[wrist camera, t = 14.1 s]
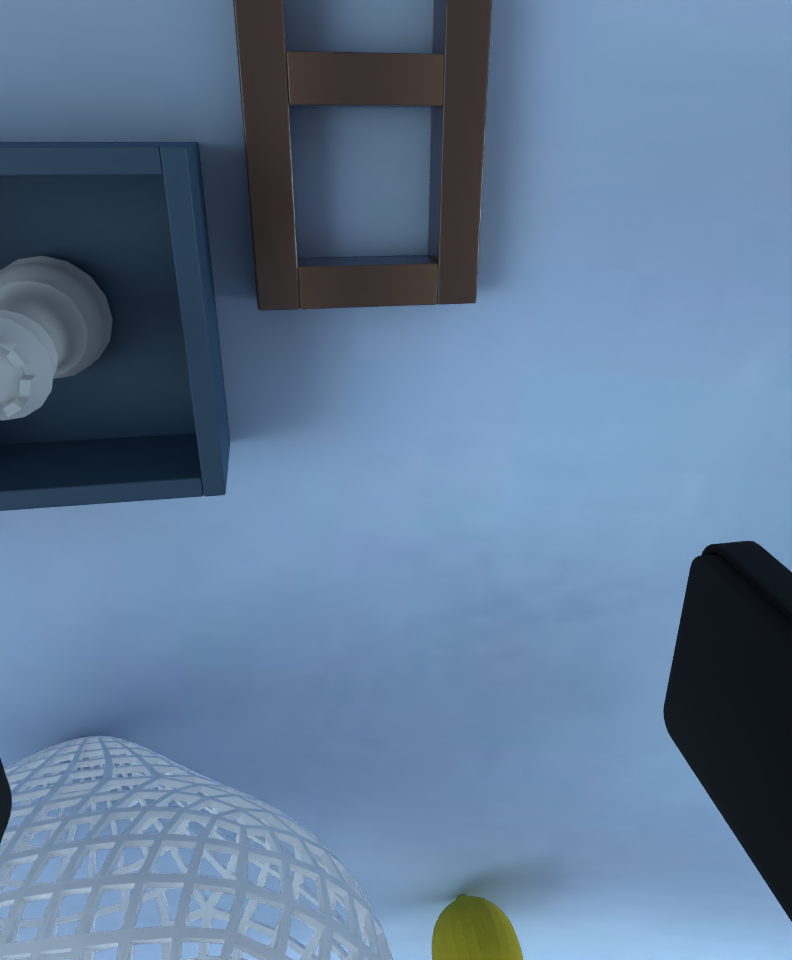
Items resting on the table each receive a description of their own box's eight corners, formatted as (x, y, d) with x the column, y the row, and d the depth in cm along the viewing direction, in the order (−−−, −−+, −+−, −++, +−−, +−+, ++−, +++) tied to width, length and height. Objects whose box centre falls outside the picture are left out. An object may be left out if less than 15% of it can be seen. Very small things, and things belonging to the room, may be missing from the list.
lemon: (409, 920, 49) (435, 1055, 42) (437, 865, 47) (469, 997, 40) (483, 924, 51) (519, 1055, 44) (513, 871, 49) (556, 999, 41)
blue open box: (198, 142, 27) (186, 146, 22) (230, 442, 32) (225, 495, 27) (-162, 142, 25) (-256, 146, 20) (-65, 460, 30) (-122, 520, 26)
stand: (485, -187, 24) (503, -212, 22) (463, 292, 31) (476, 303, 29) (217, -206, 23) (214, -234, 21) (258, 299, 29) (257, 311, 28)
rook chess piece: (94, 387, 29) (42, 471, 22) (-25, 342, 28) (-121, 417, 21) (130, 285, 28) (87, 340, 21) (7, 232, 26) (-85, 272, 19)
